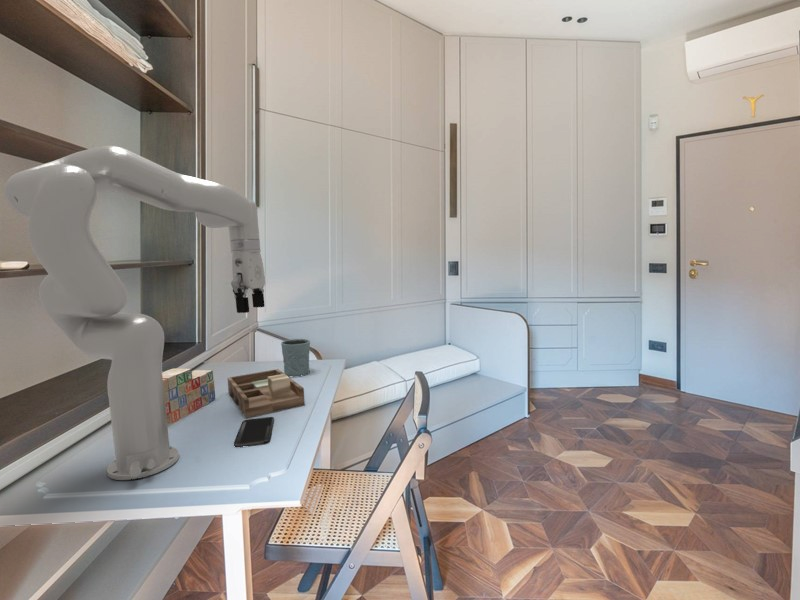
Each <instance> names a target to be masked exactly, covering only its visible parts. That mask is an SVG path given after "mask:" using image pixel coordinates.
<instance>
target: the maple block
mask: <svg viewBox="0 0 800 600" xmlns="http://www.w3.org/2000/svg"><path fill="white" fill-rule="evenodd" d="M290 378H291V377H288V376H287V375H286V374H285V373H284V374H281V375H275V376H269V377H268V390H269V394H270V395H271V396H272V397H273V398H276V397H280V396H285V395H290V394H291V391H290Z"/></svg>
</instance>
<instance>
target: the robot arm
mask: <svg viewBox="0 0 800 600" xmlns="http://www.w3.org/2000/svg"><path fill="white" fill-rule="evenodd" d="M108 193H109V194H110V193H115V194H121V195H123V196H125V197H129V198H131V199H134V200H137V201H140V202H142V203H146V204H148V205H151V206H152V207H153V206H154V207H156V208H157V209H158V208H159V209H161V210H165V211H173V212H182V213H194V214H195V218H196V220H197V221H198V222H199V223H200V224H201V225H202V226H204V227H207V228H210V229H217V228H218V229H219V228H228V233H229V244H230V253H231V255H232V257H231V258H232V259H231V260H232V262H231V264H232V266H231V267H232V281H231V282H230V284H231V287H232V293H233V294H234V295H233V296H234V299H235V307H236V313H237V314H245V313H247V314H248V313H250V304H249V297H248V292H249V289H250V290H251V291H252V293H251V298H252V307H253V308H265V295H264V292H265V290H264V287H265V286H266V278H265V270H264V263H263V259H262V254H261V240H260V230H259V229H260V228H259V219H258V208H257V207H258V206H257V203H256V202H255V201H253V200H251V199H249V198H247V197H246V196H245V195H244V194H242V193H241V192H238V191H237V190H234V189H233V188H231V187H229V186H226V185H225V184H222V183H221V184H220V183H218V182H214V181H211V180H206V179H203V178H198V177H195V176H191V175H186V174H182V173H178V172H177V171H173V170H171V169H169V168H167V167H164V166H163V165H160V164H158V163H157V162H154V161H152V160H150V159H148V158H146V157H144V156H142V155H139V154H137V153H135V152H133V151H130V150H129V149H126V148H124V147H121V146H116V145H102V146H97V147H92V148H88V149H85V150H84V149H83V150H79V151H77V152H74V153H71V154H68V155H65V156H63V157H60V158H58V159H55V160H53V161H49V162H45V163H43V164H42V163H41V164H40V165H36V166H33V167H30V168H28V169H23V170H22V171H19V172H16V173H14V174H13V175H11V176H10V177H9V178H8V180H6V183H5V184H4V188H3V195H4V198H5V200H6V203H7V204H8V205H9V207H11V209H12V210H14V211H15V212H16V213H17V214H20V215H21V216H23V217H27V218H28V222H27V223H28V224H27V236H28V240H29V244H30V248H31V250H32V252H33V254H34V255H35V257H36V259H37V260H38V262H39V263H40V264H41V266H42V267H43V268H44V270H45V272H47V275H46V276H45V277H44V278H43V279H42V281H41V282H40V285H39V289H38V296H39V297H38V298H39V301H40V304H41V306H42V308H43V309H44V311H45V312H46V314H47V315H48V317H50V319H51V320H52V321H53V322H54V323H55V324H56V326H57V327H58V328H59V329H60V330H61V331H62V333H64V335H65V336H66V337H67V338H68V339H69V341H71V343H72V344H73V345H74V346H75V347H76V348H77V349H79V351H80V352H82V353H83V354H85V355H87V356H89V357H92V358H95V359H103V360H111V364H110V368H109V372H108V376H107V383H106V385H107V396H108V404H109V413H110V422H111V430H112V438H113V439H112V440H113V441H112V442H113V448H114V449H113V450H114V455H115V456H114V457H115V459H114V460H113V461H112V462H110V463H109V464H108V466H107V468H106V472H107V477H109V478H110V479H112V480H117V481H129V480H131V479H132V480H136V479H137V478H138V479H141V478H142V477H143V478H145V477H150V476H153V475H155V474H158V473H160V472H162V471H165V470H167V469H169V468H170V467H171V466H173V465H174V464H175V463H176V462H177V461H178V460H179V457H180V456H179V455H180V454H179V450H178V449H177V448H176V447H173V446H170V438H169V437H170V436H169V427H168V426H169V425H168V426H167V415H166V405H165V395H164V386H163V375H162V372H163V355H164V348H165V347H164V346H165V331H164V329H163V326H162V325H161V324H160V323H159V321H157V320H156V319H155V318H153V317H151V316H149V315H147V314H143V313H137V312H135V313H134V312H121V311H122V310H123V309H124V308H126V306H127V303H128V300H129V299H128V297H129V296H128V295H129V294H128V291H127V289H126V286H125V284H124V283H123V281H122V280H121V279H120V277H119V275H117V273H116V271H115V270H114V269H113V268H112V266H111V265H110V263H109V262H108V261H107V259H106V258H105V256H104V255H103V253H102V252H101V251H100V249H99V248H98V246H97V244H96V242H95V241H94V239H93V237H92V233H91V228H90V220H91V217H92V212H93V209H94V207H95V205H96V202H97V199H98V195H102V194H108ZM149 475H150V476H149Z"/></svg>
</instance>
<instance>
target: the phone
mask: <svg viewBox="0 0 800 600" xmlns="http://www.w3.org/2000/svg"><path fill="white" fill-rule="evenodd" d="M274 424H275V417H273V416H267V417H257V418H247V419H244V420H243V421H241V424H240V426H239V429H238V431H237V434H236V436H235V439H234V442H233V447H234V446H235V447H240V448H244V447H243V446H248V447H253V446H254V447H255V446H262V445H268V444H270V442H271V439H272V435H273V428H274ZM235 447H234V448H235Z"/></svg>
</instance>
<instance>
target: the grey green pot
mask: <svg viewBox="0 0 800 600" xmlns="http://www.w3.org/2000/svg"><path fill="white" fill-rule="evenodd" d="M310 344H311V341H310V340H309V339H306V338H305V339H304V338H293V339H287V340H282V341H281V344H280V345H281V353H282V358H283V359H282V361H283V371H284V372H283V373H284V374H286V375H287V376H299V377H302V376H301V375H304V376H306V375H305V374H307V375H308V374H309V373H310V349H311V348H310V347H311V346H310Z"/></svg>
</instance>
